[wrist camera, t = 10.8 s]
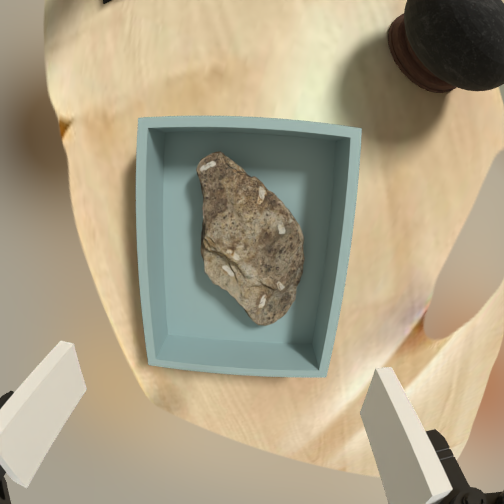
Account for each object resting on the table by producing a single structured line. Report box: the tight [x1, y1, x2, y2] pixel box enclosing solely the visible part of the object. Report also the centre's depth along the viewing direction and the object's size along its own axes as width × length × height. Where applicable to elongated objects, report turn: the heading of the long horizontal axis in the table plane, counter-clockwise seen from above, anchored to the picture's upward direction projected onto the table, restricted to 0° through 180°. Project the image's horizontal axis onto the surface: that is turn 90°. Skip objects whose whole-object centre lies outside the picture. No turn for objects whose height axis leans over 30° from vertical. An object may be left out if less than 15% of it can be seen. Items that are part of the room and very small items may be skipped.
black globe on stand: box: [388, 0, 504, 93], centre depth 20 cm, size 13×13×15 cm
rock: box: [196, 151, 305, 326], centre depth 32 cm, size 18×11×4 cm, turn 40°
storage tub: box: [136, 116, 362, 377], centre depth 32 cm, size 26×20×6 cm
